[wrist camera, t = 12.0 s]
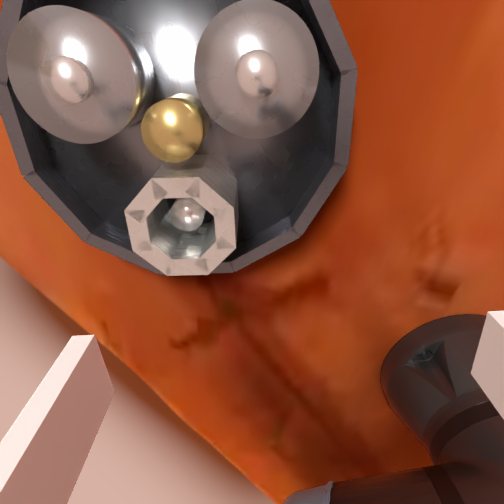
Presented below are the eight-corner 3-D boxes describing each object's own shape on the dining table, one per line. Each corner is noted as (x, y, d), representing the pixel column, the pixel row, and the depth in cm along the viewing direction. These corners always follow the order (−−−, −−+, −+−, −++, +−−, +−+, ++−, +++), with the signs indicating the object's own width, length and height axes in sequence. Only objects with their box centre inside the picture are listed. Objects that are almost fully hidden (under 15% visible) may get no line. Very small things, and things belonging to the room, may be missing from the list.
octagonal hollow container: (235, 153, 27) (232, 176, 22) (239, 236, 30) (237, 274, 25) (143, 156, 27) (117, 179, 22) (157, 238, 30) (137, 276, 25)
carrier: (333, 252, 33) (354, 300, 26) (73, 258, 33) (29, 308, 26) (365, -102, 21) (416, -174, 15) (-32, -87, 22) (-157, -151, 15)
